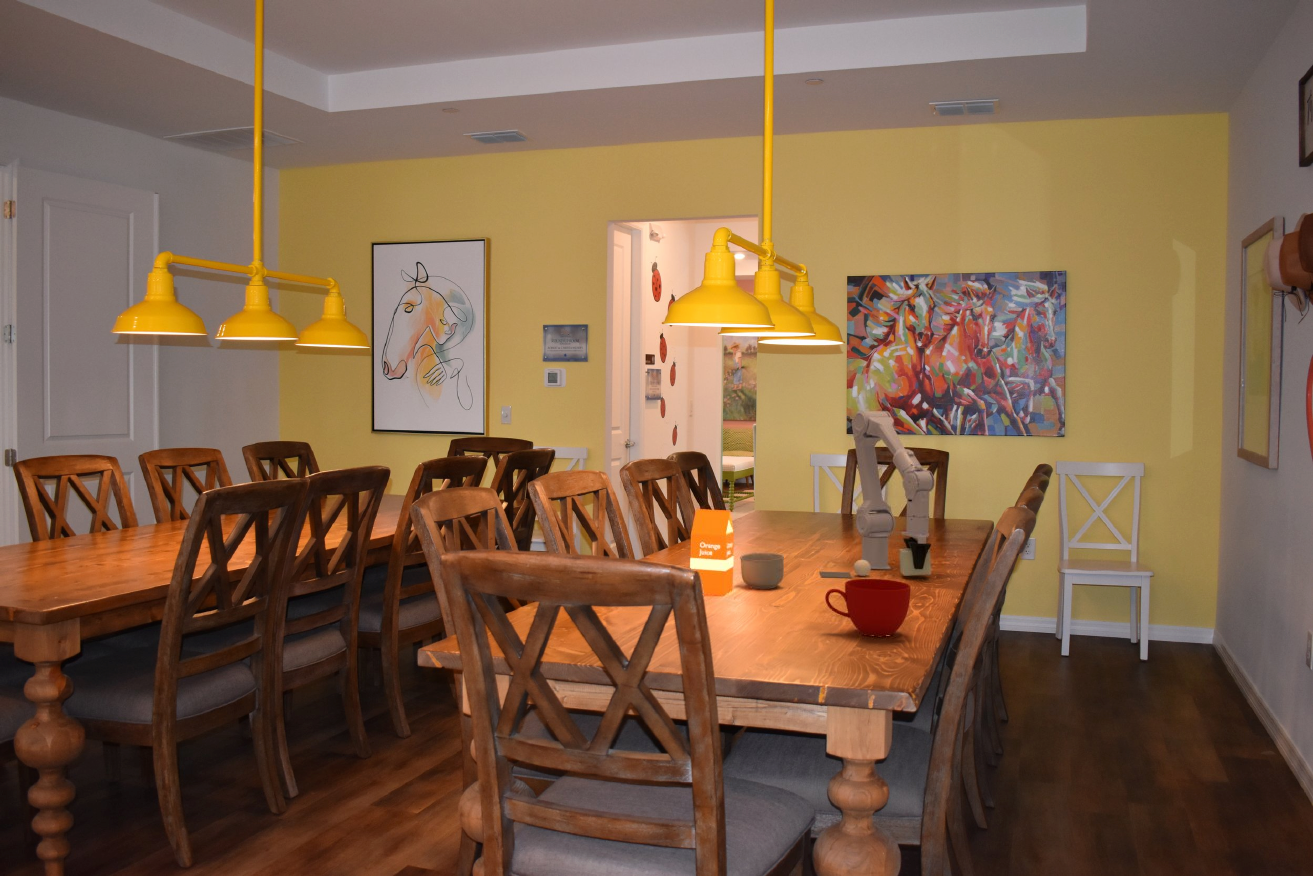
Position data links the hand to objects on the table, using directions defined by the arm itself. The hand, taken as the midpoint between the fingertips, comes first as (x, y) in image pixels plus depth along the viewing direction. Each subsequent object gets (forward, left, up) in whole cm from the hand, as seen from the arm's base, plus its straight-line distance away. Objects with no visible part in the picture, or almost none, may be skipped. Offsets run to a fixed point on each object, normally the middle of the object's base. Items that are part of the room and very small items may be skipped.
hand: (916, 567), depth 274 cm
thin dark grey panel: (0, -21, -3) cm, 21 cm away
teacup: (+19, -41, -3) cm, 45 cm away
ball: (0, -14, -1) cm, 14 cm away
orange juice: (+29, -53, -3) cm, 61 cm away
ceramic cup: (+68, -20, -3) cm, 71 cm away
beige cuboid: (0, 0, -2) cm, 2 cm away
